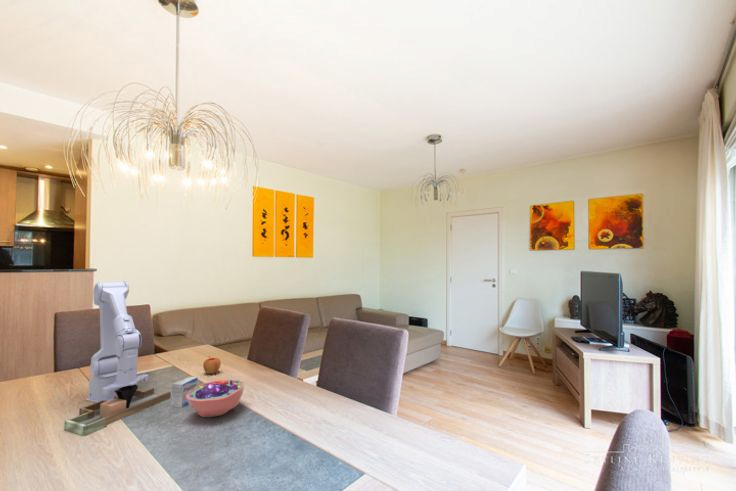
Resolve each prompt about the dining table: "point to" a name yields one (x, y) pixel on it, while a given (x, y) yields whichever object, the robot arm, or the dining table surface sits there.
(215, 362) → the apple
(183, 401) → the medicine box
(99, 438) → the dining table surface
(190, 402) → the cell model
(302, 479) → the dining table surface
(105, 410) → the block
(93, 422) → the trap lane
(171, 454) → the dining table surface
